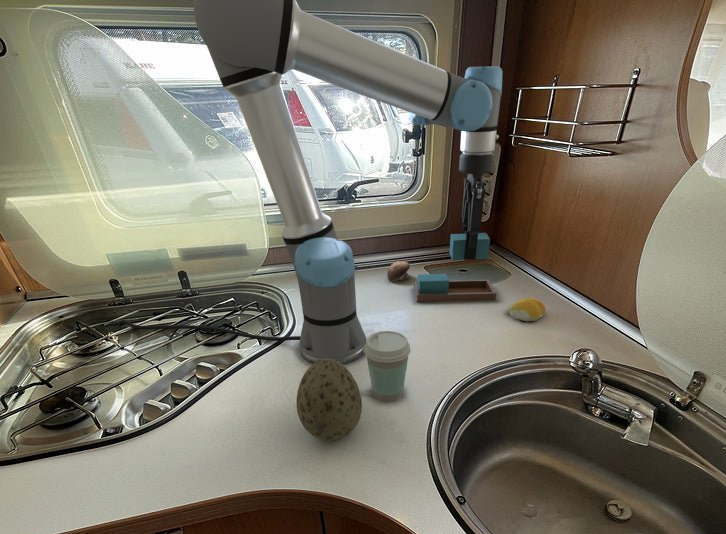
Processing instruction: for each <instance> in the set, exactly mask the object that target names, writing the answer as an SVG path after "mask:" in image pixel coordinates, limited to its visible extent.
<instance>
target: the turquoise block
mask: <svg viewBox="0 0 726 534" xmlns="http://www.w3.org/2000/svg"><path fill="white" fill-rule="evenodd" d="M417 281H418V289H419V293H420V294H444V293H448V286H449V281H450V280H449V277H448V274H447V273H421V274H419V273H418V274H417Z"/></svg>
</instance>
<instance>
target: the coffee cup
mask: <svg viewBox="0 0 726 534" xmlns="http://www.w3.org/2000/svg"><path fill="white" fill-rule="evenodd" d="M410 353H411V344H410V343H409V340H408V338H407V337H406V336H405V335H404V334H403V333H401V332H398V331H393V330H381V331H376V332H374V333H372V334H370V335H369V336H368V337H367V338H366V344H365V346H364V353H363V354H364V355H365V357H366V363H367V367H368V374H369V378H370V385H371V391H372V395H373V398H374V399H375V400H377V401H379V402H382V403H395V402H397V401H399V400H401V398H402V397H403V394H404V387H405V380H406V374H407V368H408V362H409V355H410Z"/></svg>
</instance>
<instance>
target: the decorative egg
mask: <svg viewBox="0 0 726 534" xmlns="http://www.w3.org/2000/svg"><path fill="white" fill-rule="evenodd" d="M361 394H362V393H361V391H360V387H359V385H358V383H357V381H356V379H355V378H354V376H353V374H352V373H351V371H350V370H349V369H348V368H347V367H346V366H345V365H344V364H341V363H339V362H338V361H336V360H333V359H329V358H325V359H321V360H318V361H316V362H315V363H312V364H311V365H310V366H309V367H308V369H307V370H306V371H305V373H304V374H303V376H302V377H301V380H300V382H299V385H298V388H297V393H296V402H295V403H296V413H297V416H298V419H299V422H300V423H301V425H302V427H303V428H304V429H305V431H306V432H307V433H309V434H310V435H311V436H313V437H314V438H316V439H318V440H322V441H326V442H327V441H328V442H335V441H338V440H341V439H343V438H345V437H348V435H350V434H351V433H352V432H353V431H354V429H355V428H356V427H357V426H358V424H359V422H360V419H361V415H362V410H363V408H362V407H363V403H362V401H363V400H362V395H361Z"/></svg>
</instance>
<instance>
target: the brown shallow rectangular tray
mask: <svg viewBox="0 0 726 534" xmlns="http://www.w3.org/2000/svg"><path fill="white" fill-rule="evenodd" d="M413 290H414V291H413V292H414V295H415V300H416V303H443V302H444V303H445V302H446V303H447V302H483V301H484V302H486V301H487V302H489V301H496V298H497V292H496V289H494V287H493V284H492V283H491V282H490V280H489V279H462V280H461V279H459V280H456V279H455V280H449V286H448V293H444V294H420V293H419V289H418V280H417V281H416V280H415V281H413Z"/></svg>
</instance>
